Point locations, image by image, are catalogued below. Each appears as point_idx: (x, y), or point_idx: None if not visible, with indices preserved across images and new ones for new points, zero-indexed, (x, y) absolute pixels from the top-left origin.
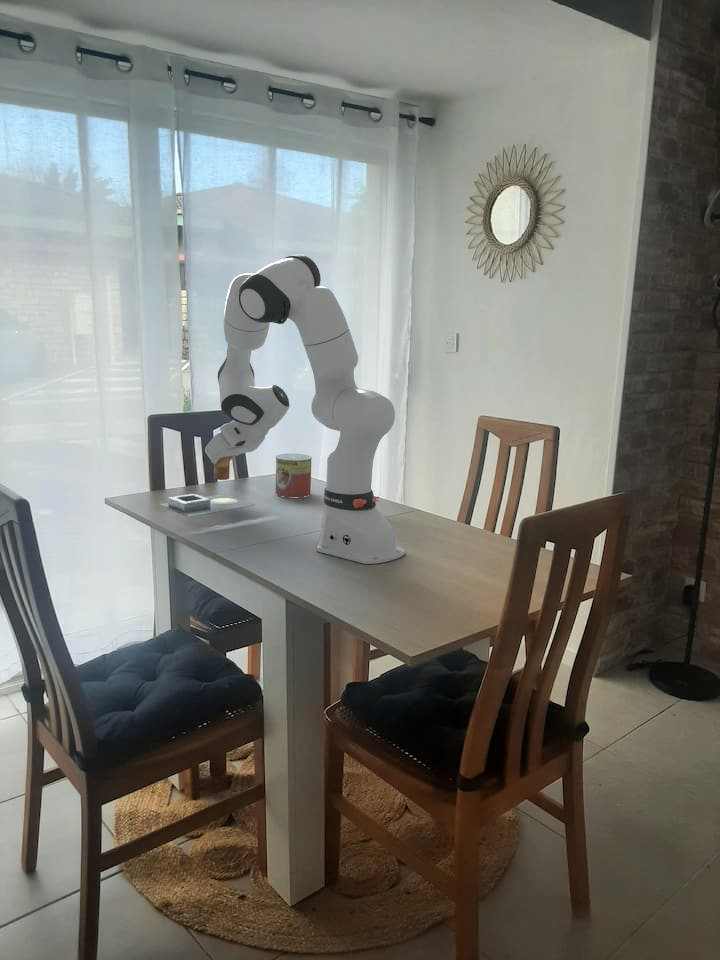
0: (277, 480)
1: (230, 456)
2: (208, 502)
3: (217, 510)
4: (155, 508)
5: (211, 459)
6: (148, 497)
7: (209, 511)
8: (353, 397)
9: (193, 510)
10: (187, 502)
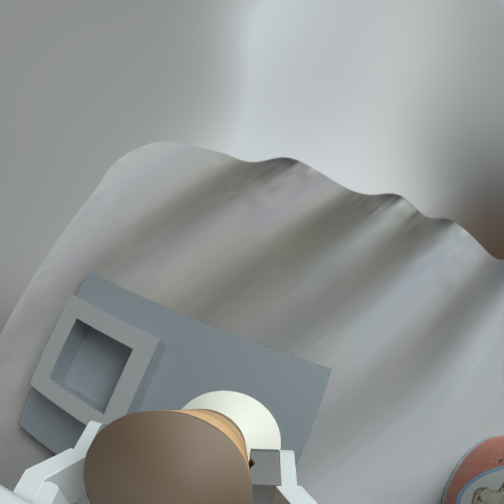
0: (483, 481)
1: (267, 499)
2: None
3: None
4: (91, 268)
5: (89, 425)
6: (190, 181)
7: None
8: None
9: None
10: (43, 387)
